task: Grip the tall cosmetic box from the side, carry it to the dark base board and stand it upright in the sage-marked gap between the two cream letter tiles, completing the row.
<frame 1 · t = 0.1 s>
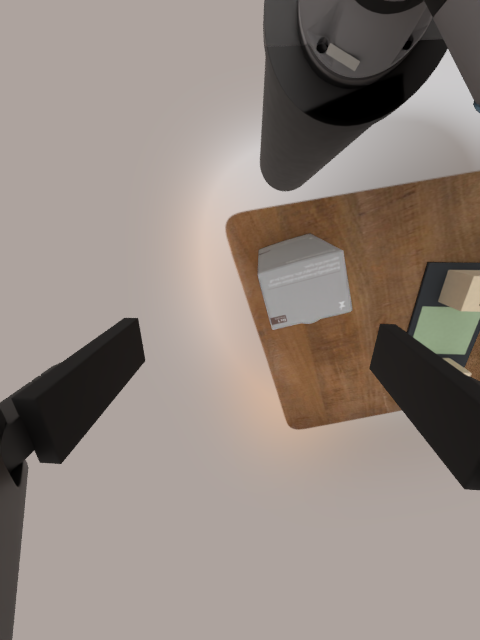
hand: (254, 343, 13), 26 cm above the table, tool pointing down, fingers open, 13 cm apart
dark base board: (442, 330, 39), on the table
cosmetic box: (287, 264, 37), on the table
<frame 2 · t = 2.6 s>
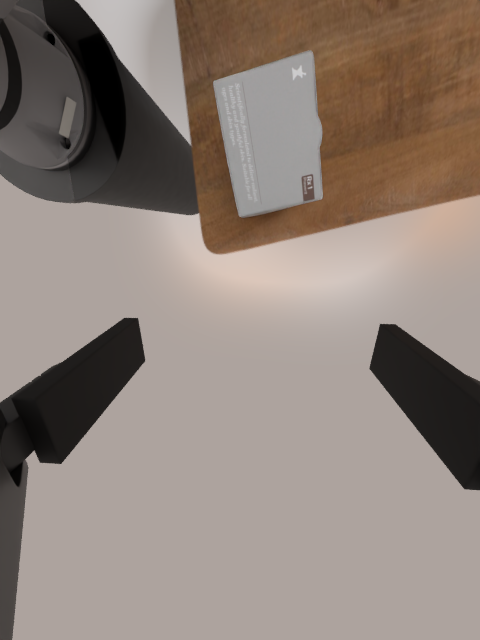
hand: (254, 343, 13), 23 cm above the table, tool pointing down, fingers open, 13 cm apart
cosmetic box: (261, 181, 30), on the table
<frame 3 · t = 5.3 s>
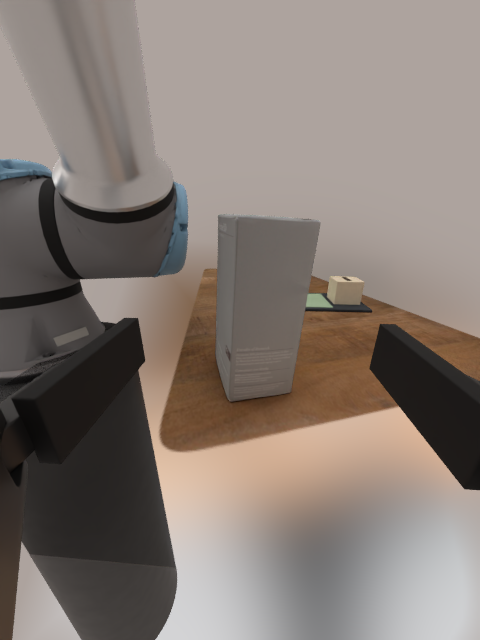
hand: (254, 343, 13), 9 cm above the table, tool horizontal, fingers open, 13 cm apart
dark base board: (305, 301, 49), on the table
cosmetic box: (253, 376, 25), on the table
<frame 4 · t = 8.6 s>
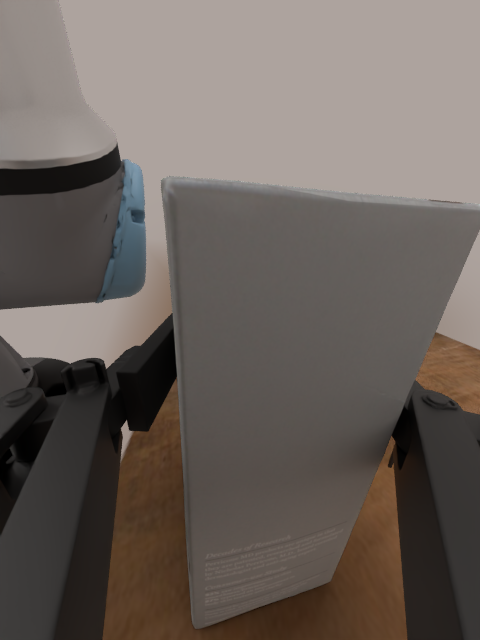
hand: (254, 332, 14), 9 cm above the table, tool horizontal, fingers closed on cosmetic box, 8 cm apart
cosmetic box: (250, 511, 13), on the table, touching gripper
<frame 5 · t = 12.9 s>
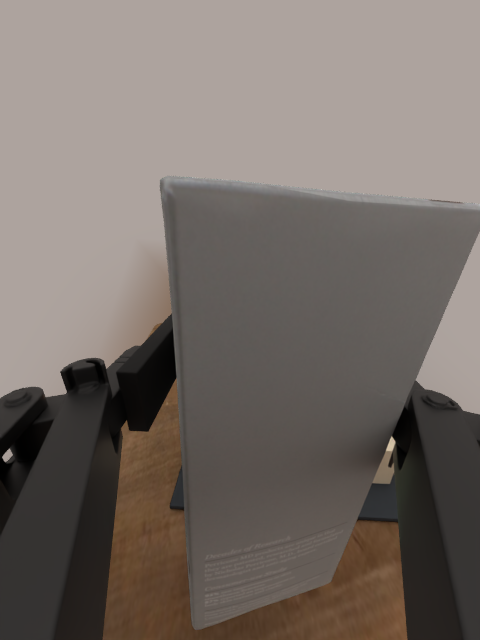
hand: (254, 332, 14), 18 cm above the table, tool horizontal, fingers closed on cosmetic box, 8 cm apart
dark base board: (284, 459, 26), on the table
cosmetic box: (250, 511, 13), point 9 cm above the table, touching gripper
when the fingers open (9 cm above the table, at t = 17.1 s): cosmetic box stays where it is, resting on dark base board.
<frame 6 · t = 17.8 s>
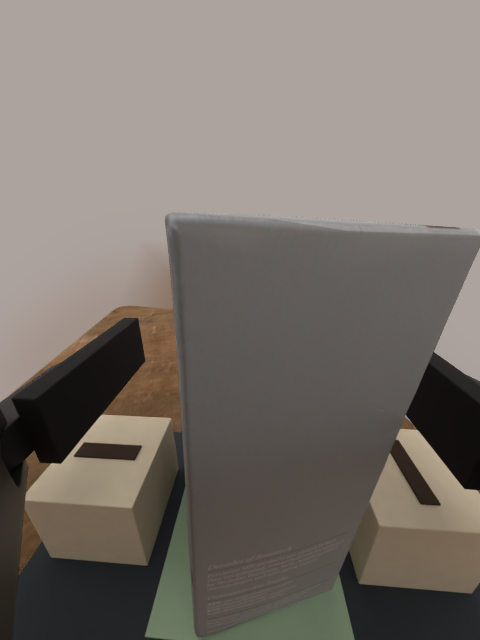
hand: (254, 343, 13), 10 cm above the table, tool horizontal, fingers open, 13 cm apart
dark base board: (251, 519, 14), on the table
cosmetic box: (252, 517, 14), resting on dark base board
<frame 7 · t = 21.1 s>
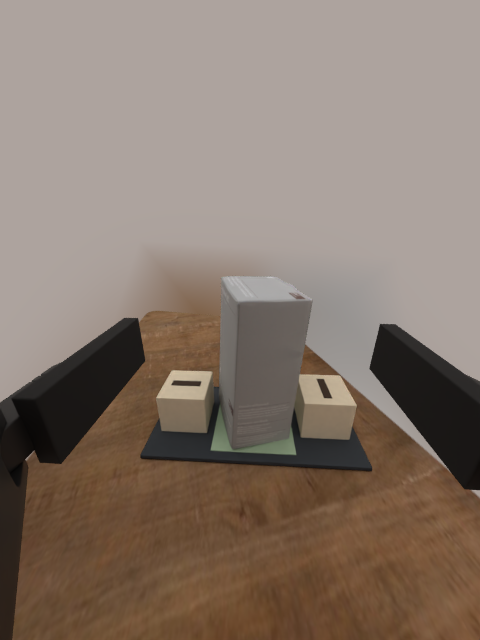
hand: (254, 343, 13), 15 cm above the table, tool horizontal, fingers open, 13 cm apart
dark base board: (253, 420, 28), on the table
cosmetic box: (254, 419, 27), resting on dark base board
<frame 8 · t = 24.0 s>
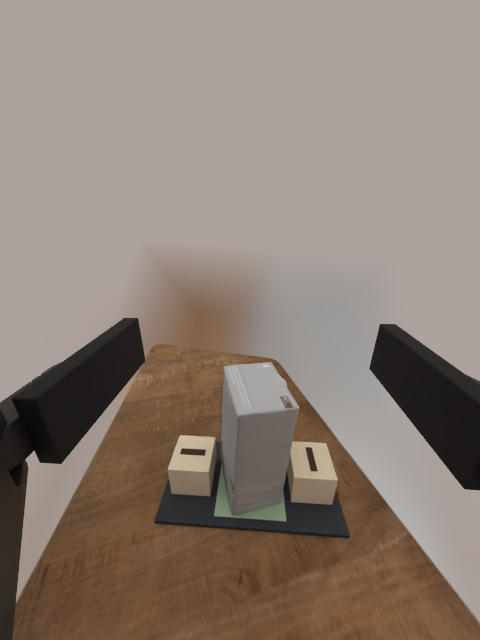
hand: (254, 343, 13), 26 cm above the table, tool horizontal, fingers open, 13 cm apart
dark base board: (250, 481, 32), on the table
cosmetic box: (251, 480, 32), resting on dark base board
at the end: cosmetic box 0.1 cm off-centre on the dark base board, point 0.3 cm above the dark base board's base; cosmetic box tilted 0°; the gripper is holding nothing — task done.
